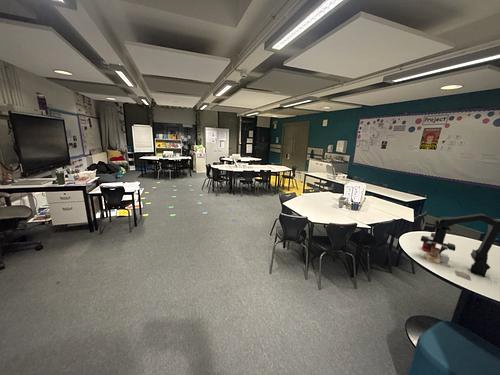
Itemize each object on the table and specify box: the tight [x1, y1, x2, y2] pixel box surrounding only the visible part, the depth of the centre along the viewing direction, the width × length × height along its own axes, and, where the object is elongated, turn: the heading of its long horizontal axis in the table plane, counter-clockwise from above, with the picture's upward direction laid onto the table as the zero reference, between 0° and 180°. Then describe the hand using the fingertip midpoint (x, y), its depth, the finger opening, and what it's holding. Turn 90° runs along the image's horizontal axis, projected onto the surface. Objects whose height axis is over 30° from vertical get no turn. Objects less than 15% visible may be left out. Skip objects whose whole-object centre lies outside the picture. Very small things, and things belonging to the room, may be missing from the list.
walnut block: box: [430, 246, 441, 257], centre depth 150 cm, size 4×4×5 cm
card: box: [454, 270, 472, 281], centre depth 136 cm, size 7×7×1 cm
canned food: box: [421, 235, 437, 253], centre depth 164 cm, size 8×8×11 cm
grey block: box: [439, 252, 450, 264], centre depth 151 cm, size 4×4×5 cm
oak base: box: [424, 251, 440, 265], centre depth 151 cm, size 7×7×4 cm
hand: (434, 253), depth 150 cm, fingers closed on walnut block, 4 cm apart
